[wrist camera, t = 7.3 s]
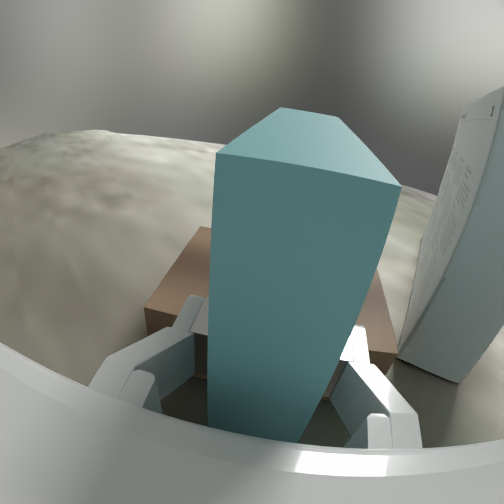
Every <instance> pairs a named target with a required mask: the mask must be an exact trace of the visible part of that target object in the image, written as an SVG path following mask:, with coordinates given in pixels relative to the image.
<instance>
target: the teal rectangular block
mask: <svg viewBox="0 0 504 504" xmlns="http://www.w3.org/2000/svg"><path fill="white" fill-rule="evenodd" d="M401 188H402V186H401V185H400V184H399V183H398V182H397V180H396V179H395V178H394V177H393V176H392V174H391V173H390V172H389V171H388V170H387V169H386V168H385V166H384V165H383V164H382V163H381V162H380V161H379V160H378V158H377V157H376V156H375V155H374V154H373V153H372V152H371V151H370V150H369V149H368V148H367V147H366V146H365V144H364V143H363V142H362V141H361V140H360V139H359V138H358V137H357V136H356V135H355V134H354V133H353V132H352V131H351V130H350V129H349V128H348V127H347V126H346V125H345V124H344V123H343V122H342V121H341V120H340V119H339V118H338V117H334V116H329V115H324V114H318V113H312V112H307V111H301V110H294V109H288V108H279V109H278V110H276V111H275V112H273V113H272V114H270V115H269V116H267V117H266V118H264V119H263V120H261V121H260V122H258V123H257V124H256V125H254V126H253V127H251V128H250V129H248V130H247V131H246V132H244V133H243V134H241V135H240V136H239V137H237V138H236V139H235V140H233V141H232V142H230V143H229V144H228V145H226V146H225V147H223V148H222V149H221V150H219V151H218V152H217V153H216V162H215V176H214V192H213V208H212V227H211V248H210V273H209V304H208V355H207V421H208V427H211V428H215V429H219V430H224V431H228V432H233V433H238V434H243V435H248V436H253V437H259V438H265V439H271V440H277V441H284V442H291V443H298V441H299V439H300V438H301V436H302V434H303V432H304V430H305V429H306V427H307V425H308V423H309V421H310V419H311V417H312V415H313V414H314V412H315V410H316V408H317V406H318V404H319V402H320V400H321V398H322V396H323V394H324V392H325V390H326V388H327V386H328V384H329V382H330V380H331V377H332V375H333V373H334V371H335V369H336V367H337V365H338V362H339V360H340V358H341V356H342V354H343V351H344V349H345V347H346V344H347V342H348V340H349V338H350V335H351V333H352V330H353V328H354V326H355V323H356V321H357V318H358V316H359V313H360V311H361V308H362V306H363V303H364V301H365V298H366V295H367V293H368V290H369V288H370V285H371V282H372V279H373V277H374V274H375V271H376V268H377V265H378V262H379V260H380V257H381V254H382V251H383V248H384V245H385V242H386V239H387V235H388V232H389V229H390V226H391V223H392V219H393V216H394V213H395V209H396V206H397V202H398V199H399V195H400V191H401Z"/></svg>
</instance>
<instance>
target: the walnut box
mask: <svg viewBox="0 0 504 504" xmlns="http://www.w3.org/2000/svg"><path fill="white" fill-rule="evenodd" d="M210 248H211V228H207V227H201V226H200V228H199V229H198V230H197V232H196V233H195V235H194V236H193V237H192V239H191V240H190V241H189V243H188V244H187V246H186V247H185V248H184V250H183V251H182V253H181V254H180V256H179V257H178V258H177V260H176V261H175V263H174V264H173V265H172V267H171V268H170V270H169V271H168V273H167V274H166V275H165V277H164V278H163V280H162V281H161V283H160V284H159V286H158V287H157V289H156V290H155V291H154V293H153V294H152V296H151V297H150V299H149V300H148V302H147V303H146V305H145V306H144V311H145V318H146V324H147V331H148V336H150V335H152V334H154V333H156V332H158V331H159V330H161V329H163V328H165V327H171V328H172V326H173V324H174V322H175V320H176V318H177V316H178V315H179V313H180V311H181V309H182V307H183V305H184V303H185V302H186V300H187V298H188V297H189V296H190V295H196V296H200V297H204V298H209V273H210ZM355 325H362V326H364V327H365V331H366V337H367V344H368V351H369V359H370V364H375V366H376V367H377V368H378V369H379V370H380V371H381V372H382V374H383V375H384V376H385V375H386V373H387V372H388V370H389V368H390V367H391V365H392V363H393V362H394V360H395V358H396V357H397V355H398V350H397V345H396V341H395V336H394V332H393V328H392V323H391V319H390V315H389V311H388V307H387V304H386V300H385V296H384V292H383V289H382V285H381V281H380V278H379V274H378V271H377V268H376V271H375V274H374V277H373V279H372V282H371V285H370V288H369V290H368V293H367V295H366V298H365V301H364V303H363V306H362V308H361V311H360V313H359V316H358V318H357V321H356V323H355ZM193 376H194V377H198V378H202V379H206V380H207V375H204V374H199V373H195V375H193ZM329 398H330V397H324V396H322V398H321V401H329V402H331V401H330V399H329Z"/></svg>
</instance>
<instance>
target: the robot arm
mask: <svg viewBox="0 0 504 504" xmlns="http://www.w3.org/2000/svg"><path fill="white" fill-rule="evenodd" d="M208 304H209V298H204V297H200V296H196V295H190V296H189V297H188V298H187V300H186V302H185V303H184V305H183V307H182V309H181V311H180V313H179V315H178V316H177V318H176V320H175V322H174V324H173V326H172V328H171V327H165V328H163V329H161V330H159V331H158V332H156V333H154V334H152V335H150V336H148V337H146V338H144V339H142V340H140V341H138V342H136V343H134V344H132V345H130V346H128V347H126V348H124V349H122V350H120V351H118V352H116V353H114V354H112V355H110V356H108V357H106V359H105V360H104V362H103V363H102V365H101V367H100V368H99V370H98V371H97V373H96V374H95V376H94V378H93V379H92V381H91V382H90V384H89V386H88V387H87V386H85V385H82V384H80V383H78V382H76V381H73V380H71V379H69V378H67V377H65V376H63V375H60V374H58V373H56V372H54V371H52V370H50V369H48V368H46V367H44V366H42V365H40V364H38V363H36V362H35V361H33V360H31V359H29V358H27V357H25V356H23V355H22V354H20V353H18V352H16V351H14V350H13V349H11V348H9V347H8V346H6V345H4V344H3V343H1V342H0V504H504V439H501V440H495V441H489V442H483V443H476V444H468V445H459V446H449V447H436V448H423V447H422V439H421V432H420V426H419V419H418V414H417V413H416V412H415V411H414V410H413V408H412V407H411V406H410V405H409V404H408V403H407V401H406V400H405V399H404V398H403V397H402V396H401V394H400V393H399V392H398V391H397V390H396V389H395V387H394V386H393V385H392V384H391V383H390V382H389V380H388V379H387V378H386V377H385V376H384V375H383V374H382V372H381V371H380V370H379V369H378V368H377V367H376V366H375V364H370V359H369V351H368V344H367V337H366V331H365V327H364V326H362V325H355V326H354V328H353V330H352V333H351V335H350V338H349V340H348V342H347V344H346V347H345V349H344V351H343V354H342V356H341V358H340V360H339V362H338V365H337V367H336V369H335V371H334V373H333V375H332V377H331V380H330V382H329V384H328V386H327V388H326V390H325V392H324V394H323V396H324V397H330V398H329V399H330V401H331V402H332V404H333V406H334V408H335V409H336V411H337V413H338V415H339V416H340V418H341V420H342V422H343V423H344V425H345V427H346V429H347V430H348V432H349V434H350V436H351V438H350V440H349V441H348V442H347V443H346V444H345V446H344V447H343V448H341V447H328V446H317V445H308V444H299V443H291V442H284V441H277V440H271V439H265V438H259V437H253V436H248V435H243V434H238V433H233V432H228V431H224V430H219V429H215V428H211V427H207V426H203V425H199V424H195V423H191V422H188V421H184V420H180V419H177V418H174V417H170V416H167V415H164V414H163V411H162V407H161V403H160V400H162V399H163V398H164V397H166V396H167V395H168V394H170V393H171V392H172V391H174V390H175V389H176V388H178V387H179V386H180V385H182V384H183V383H184V382H185V381H187V380H188V379H189V378H191V377H192V376H193V375H195V373H199V374H204V375H207V355H208Z"/></svg>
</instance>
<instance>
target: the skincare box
mask: <svg viewBox="0 0 504 504" xmlns="http://www.w3.org/2000/svg"><path fill="white" fill-rule="evenodd" d="M503 325H504V86H503V87H501V88H499V89H497V90H495V91H493V92H491V93H489V94H487V95H485V96H483V97H481V98H479V99H476V100H475V101H473V102H471V103H469V104H467V105H465V106H463V108H462V113H461V117H460V121H459V125H458V129H457V133H456V137H455V141H454V145H453V148H452V152H451V156H450V158H449V161H448V164H447V167H446V171H445V174H444V177H443V180H442V183H441V186H440V190H439V194H438V197H437V199H436V202H435V205H434V207H433V210H432V212H431V215H430V218H429V220H428V223H427V226H426V228H425V231H424V233H423V236H422V241H421V246H420V252H419V259H418V264H417V269H416V275H415V280H414V285H413V289H412V294H411V299H410V303H409V308H408V312H407V316H406V320H405V324H404V328H403V332H402V336H401V339H400V343H399V347H398V355H397V358H399V359H402V360H404V361H406V362H409V363H411V364H413V365H415V366H417V367H419V368H422V369H424V370H426V371H428V372H430V373H433V374H435V375H437V376H440V377H442V378H445V379H448V380H450V381H453V382H455V383H460V382H461V381H462V380H463V379H464V378H465V376H466V375H467V374H468V373H469V371H470V370H471V369H472V368H473V366H474V365H475V364H476V363H477V361H478V360H479V359H480V357H481V356H482V355H483V353H484V352H485V351H486V349H487V348H488V346H489V345H490V344H491V342H492V341H493V339H494V338H495V337H496V335H497V334H498V332H499V331H500V329H501V328H502V326H503Z"/></svg>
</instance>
